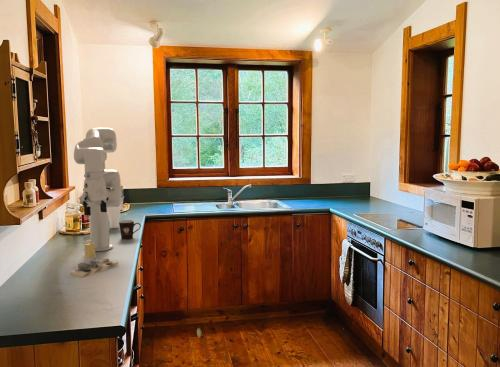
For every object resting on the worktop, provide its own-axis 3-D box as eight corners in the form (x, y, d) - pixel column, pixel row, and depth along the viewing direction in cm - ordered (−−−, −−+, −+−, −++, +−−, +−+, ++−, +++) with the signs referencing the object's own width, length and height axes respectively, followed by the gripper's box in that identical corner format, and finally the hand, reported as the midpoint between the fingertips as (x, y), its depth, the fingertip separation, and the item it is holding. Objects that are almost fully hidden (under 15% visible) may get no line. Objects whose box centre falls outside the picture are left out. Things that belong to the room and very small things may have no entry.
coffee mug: (116, 239, 262) (115, 222, 260) (124, 236, 270) (123, 219, 269) (134, 240, 259) (134, 223, 258) (142, 237, 267) (141, 220, 266)
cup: (103, 227, 295) (102, 199, 293) (119, 224, 302) (118, 198, 299) (109, 229, 287) (107, 201, 285) (125, 227, 293) (124, 200, 291)
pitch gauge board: (82, 277, 195) (82, 267, 195) (70, 274, 199) (69, 265, 199) (118, 265, 212) (117, 256, 212) (106, 262, 216) (105, 254, 216)
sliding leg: (95, 268, 202) (94, 246, 200) (85, 265, 205) (83, 244, 204) (100, 266, 204) (99, 244, 203) (90, 264, 208) (89, 242, 206)
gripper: (85, 177, 193) (87, 217, 195) (114, 174, 209) (115, 211, 210) (72, 177, 196) (74, 216, 198) (101, 174, 212) (103, 210, 214)
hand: (95, 213), depth 204 cm, fingers open, 9 cm apart
